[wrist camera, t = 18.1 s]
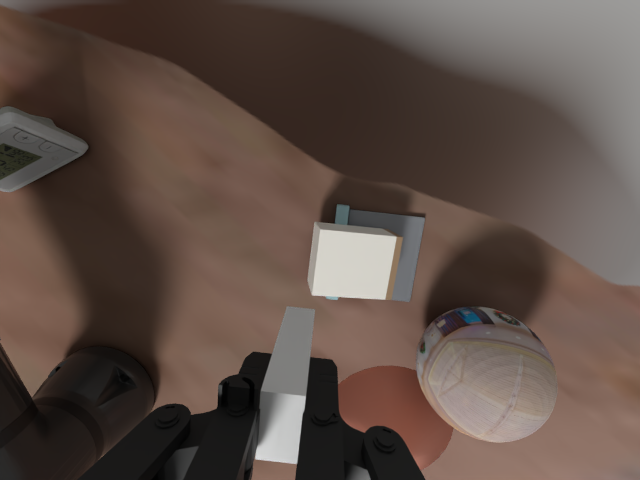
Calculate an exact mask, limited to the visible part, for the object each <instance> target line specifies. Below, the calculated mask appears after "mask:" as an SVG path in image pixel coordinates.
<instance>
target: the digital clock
mask: <svg viewBox="0 0 640 480" xmlns="http://www.w3.org/2000/svg"><path fill="white" fill-rule="evenodd" d="M87 149H88V145H87V143H86V142H85V141H84V140H82V139H81V138H79V137H77V136H75V135H73V134H71V133H69V132H66V131H64V130H62V129H60V128H58V127H56V126H55V124H54V123H53V121H52V120H51V119H50V118H45V117H40V116H35V115H30V114H28V113H25V112H23V111H21V110H19V109H16V108H14V107H10V106H6V107H3V108H1V109H0V191H4V192H13V191H15V190H17V189H19V188H21V187H23V186H25V185H27V184H29V183H31V182H33V181H35V180H37V179H39V178H40V177H42V176H44V175H46V174H48V173H50V172H52V171H54V170H56V169H57V168H59V167H61V166H63V165H65V164H67V163H69V162H71V161H73V160H74V159H76V158H78V157H80V156H82V155H83V154H84V153H85V152H86V151H87Z"/></svg>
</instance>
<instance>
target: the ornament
mask: <svg viewBox="0 0 640 480" xmlns="http://www.w3.org/2000/svg"><path fill="white" fill-rule="evenodd" d="M416 370H417V376H418V380H419V383H420V386H421V389H422V391H423V393H424V395H425V397H426V399H427V401H428V402H429V404H430V405H431V406H432V408H433V409H434V410H435V412H436V413H437V414H438V415H439V416H440V417H441V418H442V419H443V420H444V421H446V422H447V423H448V424H449V425H451V426H452V427H454V428H455V429H457V430H458V431H460V432H462V433H464V434H466V435H468V436H471V437H473V438H476V439H479V440H484V441H490V442H509V441H515V440H519V439H522V438H524V437H527V436H529V435H531V434H532V433H534V432H535V431H537V430H538V429H539V428H540V427H541V426H542V425H543V424H544V423H545V422H546V420H547V419H548V418H549V416H550V414H551V413H552V411H553V408H554V405H555V401H556V397H557V376H556V371H555V367H554V364H553V361H552V359H551V357H550V355H549V353H548V351H547V349H546V348H545V346H544V344H543V343H542V342H541V340H540V339H539V338H538V337H537V336H536V334H535V333H534V332H532V331H531V330H530V329H529V328H528V327H527V326H526V325H525V324H523V323H522V322H520V321H519V320H517V319H516V318H514V317H512V316H510V315H508V314H506V313H504V312H501V311H499V310H495V309H492V308H486V307H479V306H470V307H461V308H456V309H453V310H450V311H448V312H446V313H444V314H442V315H441V316H439V317H438V318H436V319H435V320H434V321H433V322H432V323H431V324H430V325H429V326H428V327H427V329H426V330H425V331H424V333H423V335H422V337H421V339H420V342H419V344H418V348H417V354H416Z"/></svg>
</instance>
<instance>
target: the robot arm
mask: <svg viewBox="0 0 640 480" xmlns="http://www.w3.org/2000/svg"><path fill="white" fill-rule="evenodd" d="M314 314H315V309H306V308H297V307H288V306H287V308H286V312H285V315H284V318H283V321H282V324H281V328H280V331H279V334H278V337H277V340H276V343H275V347H274V350H273V353H272V354H269V353H260V352H252V353H251V354H250V355H248V356H247V357H246V358H245V360H244V362H243V364H242V367H241V369H240V371H239V374H238V375H233V376H229V377H227V378H225V379H224V380H222V381H221V383H220V384H219V385H218V407H217V409H215V410H212V411H210V412H206V413H201V414H194V415H191V412H190V411H189V409H188V408H187V407H186V406H184V405H182V404H167V405H164V406H161V407H159V408H157V409H155V410H154V411H153V412H151V410H152V407H153V403H154V389H153V385H152V382H151V380H150V378H149V376H148V374H147V373H146V371H145V370H144V369H143V367H142V366H141V365H140V364H139V363H138V362H137V361H136V360H134V359H133V358H132V357H130V356H129V355H127V354H125V353H123V352H121V351H118V350H116V349H112V348H108V347H88V348H84V349H81V350H78V351H76V352H75V353H73V354H72V355H70V356H69V357H67V358H66V359H64V360H63V361H62V362H60V363H59V364H58V365H57V366H56V367H55V368H54V369H53V370H52V372H51V373H50V374H49V376H48V378H47V379H46V380H45V381H44V382H43V384H42V385H41V386H40V388H39V389H38V390H37V392H36V393H35V395H34V396H33V397H31V396H30V394H29V392H28V391H27V389H26V387H25V386H24V384H23V382H22V380H21V379H20V377H19V375H18V373H17V372H16V370H15V368H14V366H13V365H12V363H11V361H10V359H9V357H8V356H7V354H6V352H5V350H4V349H3V347H2V345H1V343H0V480H251V477H252V470H253V461H254V457H255V453H256V459H257V460H266V461H275V462H284V463H292V464H297V469H296V478H295V480H425V478H424V476H423V474H422V472H421V471H420V469H419V467H418V465H417V463H416V461H415V460H414V458H413V456H412V454H411V452H410V451H409V449H408V447H407V445H406V443H405V441H404V440H403V439H402V437H401V436H400V435H399V434H398V433H397V432H395V431H394V430H393V429H391V428H388V427H385V426H373V427H370V428H369V429H368V430H367V431H365V433H364V432H361V431H359V430H356V429H354V428H352V427H350V426H349V425H348V424H347V423H345V421H344V420H343V419H342V417H341V415H340V413H339V399H338V377H337V376H338V375H337V366H336V365H335V363H334V362H333V360H330V359H321V358H312V357H310V353H311V343H312V333H313V324H314ZM0 340H1V339H0ZM150 412H151V413H150ZM105 453H106V454H105ZM104 454H105V455H104ZM103 455H104V456H103ZM101 456H103V457H101ZM100 457H101V458H100Z"/></svg>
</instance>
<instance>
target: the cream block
mask: <svg viewBox="0 0 640 480" xmlns="http://www.w3.org/2000/svg"><path fill="white" fill-rule="evenodd" d="M402 241H403V237H402V236H400V235H398V234H396V233H394V232H392V231H390V230H389V229H382V228H372V227H362V226H352V225H342V224H332V223H322V222H314V231H313V239H312V247H311V255H310V263H309V271H308V279H307V281H308V284H309V287H310V291H311V294H312V295H315V296H332V297H349V298H366V299H383V300H392V294H393V289H394V283H395V278H396V273H397V267H398V262H399V257H400V251H401V246H402Z"/></svg>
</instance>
